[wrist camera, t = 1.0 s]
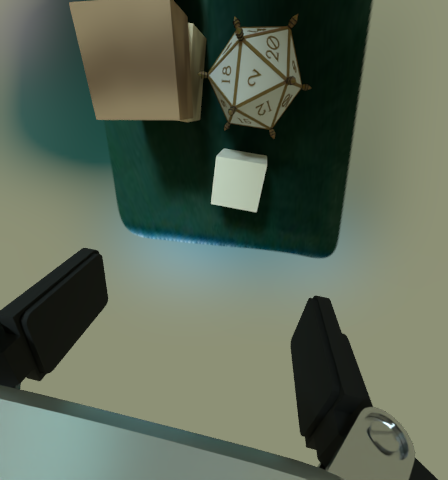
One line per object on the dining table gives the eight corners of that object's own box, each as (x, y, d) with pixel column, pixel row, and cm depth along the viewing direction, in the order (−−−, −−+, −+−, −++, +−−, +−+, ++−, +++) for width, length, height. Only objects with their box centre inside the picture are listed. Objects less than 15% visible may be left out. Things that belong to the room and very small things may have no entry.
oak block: (137, 29, 23) (108, 11, 19) (206, 39, 23) (193, 23, 19) (140, 109, 27) (116, 110, 22) (200, 119, 26) (187, 122, 22)
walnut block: (104, 21, 19) (68, 2, 16) (187, 16, 18) (169, -5, 15) (122, 117, 23) (96, 119, 19) (193, 118, 22) (179, 120, 18)
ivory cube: (224, 148, 27) (216, 155, 23) (266, 155, 27) (267, 164, 23) (218, 189, 30) (210, 203, 26) (257, 196, 30) (256, 212, 25)
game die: (245, 73, 27) (206, -32, 17) (323, 77, 23) (326, -49, 14) (218, 148, 27) (165, 85, 18) (291, 164, 24) (274, 96, 14)
